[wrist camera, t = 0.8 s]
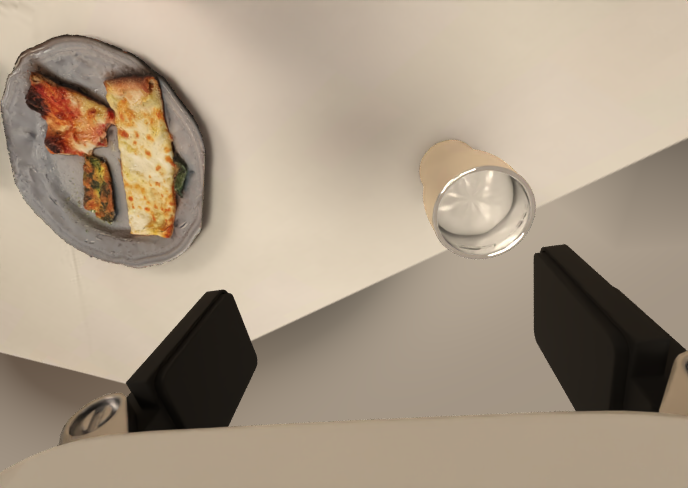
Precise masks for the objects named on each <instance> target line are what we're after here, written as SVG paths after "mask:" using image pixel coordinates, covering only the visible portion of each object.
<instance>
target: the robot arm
mask: <svg viewBox="0 0 688 488" xmlns="http://www.w3.org/2000/svg"><path fill="white" fill-rule="evenodd" d="M534 334H535V339H536V342H537V344H538V345H539V347H540V349H541V351H542V352H543V354H544V356H545V358H546V360H547V361H548V363H549V365H550V366H551V368H552V370H553V372H554V374H555V375H556V377H557V379H558V381H559V382H560V384H561V386H562V388H563V389H564V391H565V393H566V395H567V396H568V398H569V400H570V402H571V403H572V405H573V407H574V408H575V410H576V411H554V412H533V413H532V412H531V413H508V414H485V415H461V416H440V417H439V416H438V417H416V418H392V419H371V420H350V421H329V422H309V423H289V424H270V425H251V426H232V427H228V426H229V424H230V422H231V419H232V417H233V415H234V413H235V411H236V409H237V407H238V405H239V402H240V400H241V398H242V396H243V394H244V392H245V390H246V388H247V386H248V384H249V382H250V379H251V377H252V375H253V373H254V371H255V369H256V366H257V356H256V353H255V350H254V348H253V346H252V343H251V340H250V338H249V335H248V333H247V330H246V328H245V325H244V323H243V320H242V317H241V315H240V312H239V310H238V307H237V305H236V302H235V300H234V297H233V295H232V294H230V293H228V292H227V291H226V290H217V291H210V292H206V293H205V294H204V295H203V296H202V297H201V299H200V300H199V301H198V302H197V303H196V304H195V305H194V306H193V308H192V309H191V310H190V311H189V312H188V313H187V314H186V315H185V317H184V318H183V319H182V320H181V321H180V322H179V323H178V325H177V326H176V327H175V328H174V329H173V330H172V331H171V332H170V334H169V335H168V336H167V337H166V338H165V339H164V340H163V341H162V343H161V344H160V345H159V346H158V347H157V348H156V349H155V350H154V352H153V353H152V354H151V355H150V356H149V357H148V358H147V359H146V361H145V362H144V363H143V364H142V365H141V366H140V367H139V368H138V370H137V371H136V372H135V373H134V374H133V375H132V376H131V378H130V379H129V380H128V381H127V382H126V384H127V386H128V387H129V389H130V391H131V393H130V394H129V396H128V397H127V398H126V396H125V395H124V394H122V393H111V394H106V395H104V396H101V397H99V398H97V399H95V400H93V401H92V402H90V403H88V404H86V405H85V406H84V407H82V408H81V409H80V410H78V411H77V412H76V413H75V414H74V415H73V416H72V417H71V418H70V419H69V420H68V422H67V423H66V424H65V425H64V427H63V430H62V432H61V436H60V441H59V445H57V446H56V447H54V448H51V449H48V450H45V451H43V452H40V453H38V454H35V455H33V456H31V457H29V458H26V459H24V460H22V461H20V462H18V463H16V464H14V465H12V466H10V467H9V468H7V469H5V470H4V471H2V472H0V488H688V351H687V350H686V349H685V348H683V347H682V346H681V345H680V344H679V343H678V342H677V341H676V340H674V339H673V338H672V337H671V336H670V335H669V334H668V333H667V332H665V331H664V330H663V329H662V328H661V327H660V326H659V325H658V324H656V323H655V322H654V321H653V320H652V319H651V318H650V317H649V316H647V315H646V314H645V313H644V312H643V311H642V310H641V309H640V308H638V307H637V306H636V305H635V304H634V303H633V302H632V301H631V300H629V299H628V298H627V297H626V296H625V295H624V294H623V293H622V292H621V291H620V290H618V289H617V288H615V287H613V286H612V285H610V284H609V283H608V282H607V281H606V280H605V279H604V278H603V277H602V276H601V275H599V274H598V273H597V272H596V271H595V270H594V269H593V268H592V267H591V266H589V265H588V264H587V263H586V262H585V261H584V260H583V259H582V258H580V257H579V256H578V255H577V254H576V253H575V252H574V251H573V250H572V249H571V248H569V247H568V246H567V245H565V244H564V245H556V246H549V247H542V248H541V251H540V253H535V255H534Z"/></svg>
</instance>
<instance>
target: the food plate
mask: <svg viewBox="0 0 688 488" xmlns="http://www.w3.org/2000/svg"><path fill="white" fill-rule="evenodd" d="M13 69H14V70H13V71H12V73H11V74H10V75H8V78H7V81H6V88H5V91H4V94H3V97H2V99H1V104H0V105H1V112H2V113H3V114H1V115H2V118H3V125H4V128H5V129H4V130H5V131H4V132H5V136H6V139H7V140H6V141H7V149H8V151H9V152H10V153H9V155H10V157H11V158H9V159H10V163H11V167H12V170H13V171H14V175H13V176H14V177H15V179H14V180H15V184H16V186H17V187H18V189H19V192H20V193H21V194H22V196H23V199H24V200H25V201H26V203H27V204H28V205H29V206H30V207H31V209H32V210H33V211H34V213H35V214H36V215H37V216H38V217H40V218H41V219H42V220H43V221H44V222H45V223H46V224H47V225H48V226H49V227H50V228H51V229H52V230H53V231H54V232H55V233H56V234H57V235H58V236H59V237H60V238H62V239H64V240H65V242H66V243H68V244H70V245H72V246H73V247H74V248H76V249H77V250H79V251H81V252H84V253H86V254H87V255H89V256H90V257H96V258H97V260H98V259H101V260H102V261H106V262H111V263H115V264H121V265H125V266H127V267H133V268H143V267H148V266H153V265H159V264H163V263H165V262H168V261H171V260H172V259H175V258H177V256H180V255H182V254H183V252H184V251H186V250H187V249H188V247H189V246H191V244H192V242H193V241H194V239H195V238H196V236H197V235H198V234H199V233H200V231H201V230H202V209H203V201H204V200H203V196H204V195H203V194H204V175H205V174H204V171H205V170H204V167H205V157H204V156H205V155H204V154H203V153H205V148H204V146H203V145H204V144H203V139H202V134H201V132H200V130H199V126H198V124H197V123H196V121H195V120H194V117H193V115H191V113H190V112H189V110H188V109H187V108H186V106H185V105H184V104H183V102H182V101H181V100H180V98H179V97H178V96H177V95H176V93H175V92H174V90H173V89H172V87H171V86H170V84H169V83H168V82H167V80H166V79H165V78H164V77H163V76H161V75H160V74H158V73H157V72H155V71H154V70H152V69H151V68H150V67H149V66H148V65H147V64H146V63H145V62H144V61H143V60H141V59H140V58H138V57H136V56H135V55H133V54H132V53H129V52H125V51H123V50H122V49H120V48H118V47H116V46H113V45H109V44H107V43H104V42H102V41H100V40H96V39H93V38H89V37H85V36H79V35H68V34H66V35H61V36H58V37H54V38H51V39H49V40H47V41H46V42H43V43H41V44H38V45H36V46H35V47H33V48H29V49H27V50H26V51H23V52H22V53H21V54H20V56H19V57H18V59H17V61H16V63H15V67H14V68H13ZM13 171H12V172H13Z"/></svg>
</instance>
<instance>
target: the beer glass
mask: <svg viewBox="0 0 688 488" xmlns="http://www.w3.org/2000/svg"><path fill="white" fill-rule="evenodd" d="M419 174H420V179H421V182H422V184H423V186H424V188H423V203H424V208H425V212H426V215H427V217H428V220H429V222H430V224H431V226H432V228H433V229H434V231H435V234H436V236H437V238H438V239H439V241H440V242H441V243H442V244H443V245H444V246H445V247H446V248H447V249H448V250H450V251H451V252H453V253H454V254H457V255H459V256H462V257H465V258H470V259H487V258H492V257H496V256H499V255H501V254H503V253H505V252H507V251H509V250H511V249H512V248H513V247H515V246H516V245H517V244H518V243H519V242H520V241H521V240H522V239H523V238H524V237H525V236H526V234H527V233H528V231H529V230H530V228H531V226H532V223H533V220H534V217H535V210H536V204H535V198H534V194H533V192H532V189H531V187H530V186H529V184H528V183H527V182H526V180H525V179H524V178H523V177H522V176H520V175H519V174H518V173H517V172H516V171H515V170H514V169H513V168H512V167H511V166H510V165H508V164H507V163H506V162H504V161H503V160H502V159H500V158H499V157H497V156H495V155H493V154H490V153H488V152H485V151H481V150H474V149H472V148H471V147H470V146H469V145H468V144H466V143H464V142H462V141H459V140H445V141H442V142H439V143H437V144H435V145H434V146H432V147H431V148H430V149H429V150H428V151H427V152H426V153H425V155H424V156H423V158H422V160H421V163H420V168H419Z"/></svg>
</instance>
